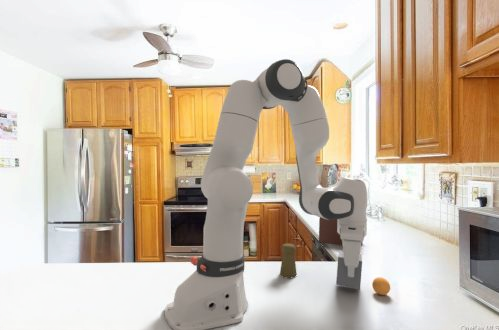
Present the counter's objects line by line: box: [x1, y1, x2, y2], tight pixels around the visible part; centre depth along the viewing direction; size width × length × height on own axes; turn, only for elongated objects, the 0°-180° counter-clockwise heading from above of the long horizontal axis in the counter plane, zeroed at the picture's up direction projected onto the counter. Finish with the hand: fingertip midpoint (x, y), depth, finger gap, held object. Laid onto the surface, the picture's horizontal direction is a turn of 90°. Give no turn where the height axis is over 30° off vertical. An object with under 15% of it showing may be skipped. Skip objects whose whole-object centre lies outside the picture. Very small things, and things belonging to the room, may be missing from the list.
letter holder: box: [318, 217, 363, 247], centre depth 139 cm, size 10×20×14 cm, turn 58°
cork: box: [279, 243, 298, 279], centre depth 98 cm, size 6×6×11 cm
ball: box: [371, 276, 391, 296], centre depth 84 cm, size 5×5×5 cm
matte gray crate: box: [335, 250, 363, 290], centre depth 87 cm, size 7×7×9 cm
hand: (350, 271), depth 87 cm, fingers closed on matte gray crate, 7 cm apart
